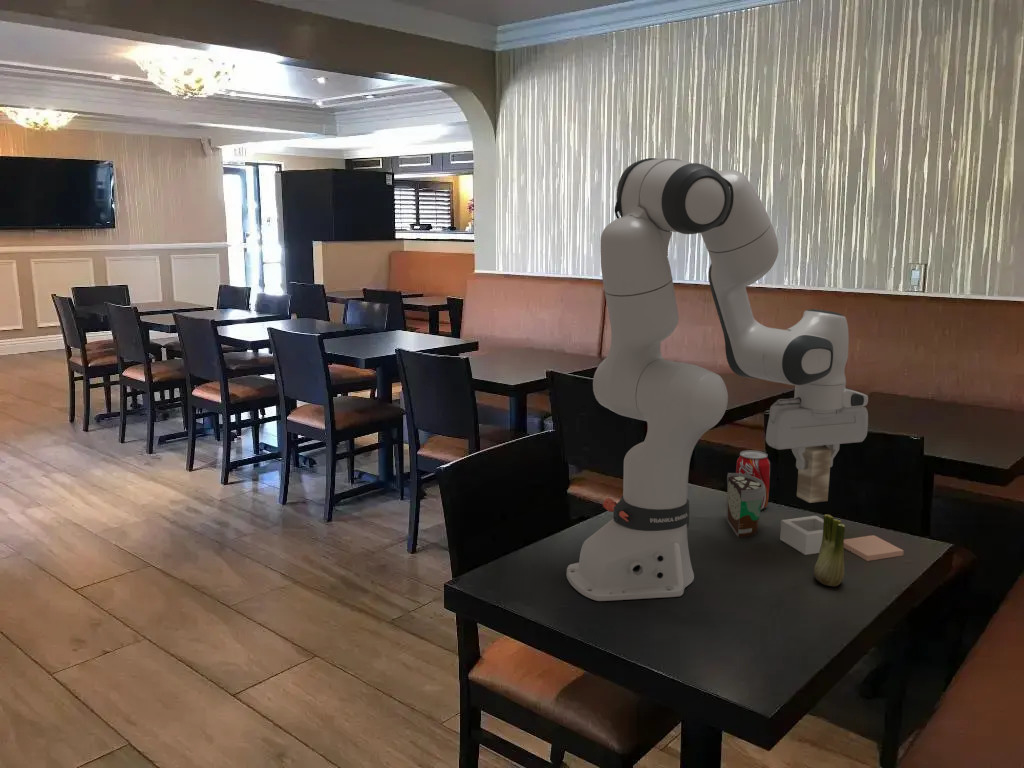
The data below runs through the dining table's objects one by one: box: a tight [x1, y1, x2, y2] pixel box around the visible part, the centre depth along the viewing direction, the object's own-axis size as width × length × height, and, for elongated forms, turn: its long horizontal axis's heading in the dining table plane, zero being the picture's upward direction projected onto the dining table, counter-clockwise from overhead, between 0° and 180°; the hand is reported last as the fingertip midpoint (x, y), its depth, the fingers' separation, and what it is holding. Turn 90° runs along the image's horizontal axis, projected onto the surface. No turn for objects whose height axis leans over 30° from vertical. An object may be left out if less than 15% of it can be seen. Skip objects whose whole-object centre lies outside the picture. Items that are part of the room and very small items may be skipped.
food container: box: [726, 472, 766, 538], centre depth 173 cm, size 12×6×10 cm, turn 179°
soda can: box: [735, 449, 771, 511], centre depth 185 cm, size 7×7×12 cm
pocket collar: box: [779, 515, 824, 556], centre depth 164 cm, size 8×8×4 cm
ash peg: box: [796, 445, 831, 504], centre depth 162 cm, size 4×4×10 cm
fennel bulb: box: [813, 513, 846, 587], centre depth 147 cm, size 6×5×12 cm
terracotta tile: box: [843, 534, 904, 562], centre depth 162 cm, size 8×8×1 cm
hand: (814, 467), depth 162 cm, fingers closed on ash peg, 4 cm apart
